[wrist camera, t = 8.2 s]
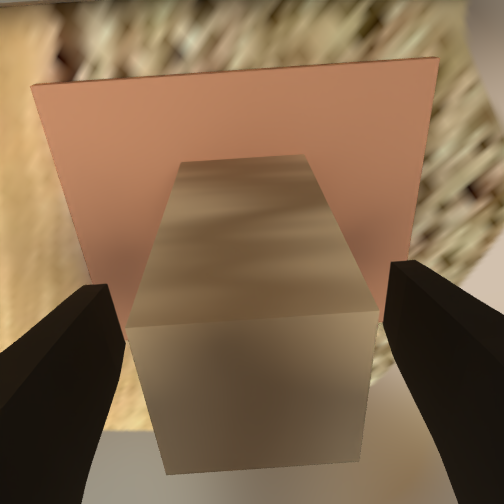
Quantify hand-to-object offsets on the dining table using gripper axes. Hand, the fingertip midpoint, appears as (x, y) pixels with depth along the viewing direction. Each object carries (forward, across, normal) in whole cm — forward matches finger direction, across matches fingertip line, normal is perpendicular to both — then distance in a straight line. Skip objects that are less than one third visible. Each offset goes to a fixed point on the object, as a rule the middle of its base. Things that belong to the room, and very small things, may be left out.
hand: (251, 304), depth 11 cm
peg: (+4, 0, 0) cm, 5 cm away
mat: (+5, 0, 0) cm, 5 cm away
